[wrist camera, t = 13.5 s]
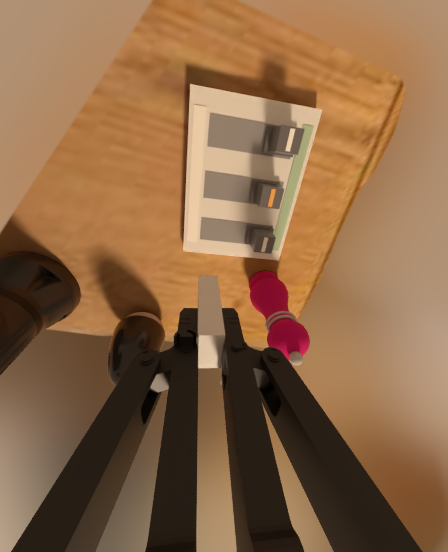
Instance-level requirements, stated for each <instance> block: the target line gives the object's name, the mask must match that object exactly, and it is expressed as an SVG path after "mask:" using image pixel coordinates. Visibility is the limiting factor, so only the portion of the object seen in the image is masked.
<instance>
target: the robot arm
mask: <svg viewBox="0 0 448 552" xmlns="http://www.w3.org/2000/svg"><path fill="white" fill-rule="evenodd" d="M80 297H81V294H80V288H79V286H78V283H77V282H76V280H75V278H74V277H73V276H72V275H71V273H70V272H69V271H68V270H67V269H65V268H64V267H63V266H62V265H60V264H59V263H57V262H56V261H54V260H52V259H50V258H48V257H45V256H43V255H40V254H36V253H31V252H13V253H9V254H7V255H4V256H2V257H0V375H1V374H2V373H3V371H4V370H5V369H6V368H7V367H8V366H9V365H10V364H11V363H12V362H13V360H15V358H16V357H17V356H18V355H19V354H20V353H21V352H22V351H23V350H24V349H25V348H26V347H27V345H28V344H29V343H30V342H31V341H32V340H33V339H34V338H35V337H36V336H37V335H38V334H39V333H40V332H41V331H43V330H44V329H46V328H48V327H50V326H52V325H53V324H55V323H57V322H58V321H61V320H63V319H64V318H66V317H67V316H69V315H70V314H71V313H72V312H73V311H74V309H75V308H76V307H77V306H78V304H79V302H80ZM221 364H222V376H221V384H222V388H223V399H224V410H225V421H226V433H227V444H228V455H229V465H230V477H231V489H232V500H233V511H234V522H235V533H236V545H237V552H304V550H303V546H302V544H301V541H300V539H299V537H298V535H297V533H296V532H295V530H294V529H293V527H292V524H291V521H290V517H289V513H288V509H287V505H286V501H285V497H284V493H283V489H282V484H281V481H280V477H279V472H278V468H277V464H276V460H275V456H274V452H273V448H272V443H271V439H270V435H269V431H268V427H267V423H266V418H265V414H264V410H263V406H262V403H263V405H264V407H265V409H266V412H267V414H268V416H269V418H270V420H271V422H272V424H273V426H274V428H275V430H276V432H277V434H278V437H279V439H280V441H281V443H282V445H283V447H284V449H285V451H286V453H287V455H288V457H289V459H290V462H291V463H292V466H293V468H294V470H295V472H296V474H297V476H298V478H299V480H300V482H301V484H302V487H303V489H304V491H305V493H306V495H307V497H308V499H309V501H310V503H311V505H312V507H313V509H314V512H315V514H316V515H317V518H318V520H319V522H320V524H321V526H322V528H323V530H324V532H325V534H326V536H327V538H328V540H329V543H330V545H331V547H332V549H333V551H334V552H422V551H421V549H420V548H419V546H418V545H417V544H416V542H415V541H414V539H413V538H412V536H411V535H410V533H409V532H408V531H407V530H406V528H405V526H404V525H403V523H402V522H401V521H400V519H399V518H398V516H397V515H396V514H395V512H394V511H393V509H392V508H391V506H390V505H389V503H388V502H387V501H386V499H385V498H384V496H383V495H382V494H381V492H380V491H379V489H378V488H377V487H376V485H375V484H374V482H373V481H372V479H371V478H370V476H369V475H368V474H367V472H366V471H365V469H364V468H363V466H362V465H361V464H360V462H359V461H358V459H357V458H356V457H355V455H354V454H353V452H352V451H351V449H350V448H349V447H348V445H347V444H346V442H345V441H344V440H343V438H342V437H341V435H340V434H339V433H338V431H337V429H336V428H335V427H334V425H333V424H332V422H331V421H330V420H329V418H328V417H327V415H326V414H325V412H324V411H323V409H322V408H321V407H320V405H319V404H318V402H317V401H316V400H315V398H314V396H313V395H312V394H311V392H310V391H309V390H308V388H307V386H306V385H305V384H304V382H303V381H302V380H301V378H300V376H299V375H298V374H297V372H296V371H295V369H294V368H293V367H292V365H291V364H290V362H289V361H288V359H287V358H286V357H285V355H284V354H283V353H282V352H281V351H280V350H278V349H277V348H273V347H268V348H265V349H264V350H263V351H259V350H255V349H253V348H251V347H249V346H248V345H247V343H246V342H244V339H243V335H242V330H241V326H240V322H239V317H238V313H237V312H236V311H235V309H234V308H222V307H221V299H220V292H219V285H218V277H217V276H208V275H199V286H198V308H184V309H183V310H182V311H181V312H180V318H179V325H178V331H177V332H176V333H175V335H174V346H173V347H172V348H170V349H169V350H166V351H163V352H160V353H158V352H157V351H156V350H153V349H146V350H142V351H141V352H139V353H138V354H137V355H136V356H135V357H134V359H133V360H132V362H131V363H130V365H129V366H128V368H127V370H126V371H125V373H124V374H123V376H122V377H121V379H120V381H119V382H118V384H117V385H116V387H115V389H114V390H113V392H112V393H111V395H110V396H109V398H108V400H107V401H106V403H105V404H104V406H103V408H102V409H101V411H100V412H99V414H98V415H97V417H96V419H95V420H94V422H93V423H92V425H91V427H90V428H89V430H88V431H87V433H86V435H85V436H84V438H83V439H82V441H81V442H80V444H79V445H78V447H77V449H76V450H75V452H74V453H73V455H72V456H71V458H70V460H69V461H68V463H67V465H66V466H65V468H64V469H63V471H62V472H61V474H60V475H59V477H58V479H57V480H56V482H55V483H54V485H53V487H52V488H51V490H50V491H49V493H48V495H47V496H46V498H45V499H44V501H43V502H42V504H41V505H40V507H39V509H38V510H37V512H36V513H35V515H34V517H33V518H32V520H31V522H30V523H29V525H28V526H27V528H26V529H25V531H24V532H23V534H22V536H21V537H20V539H19V540H18V542H17V543H16V545H15V547H14V548H13V550H12V551H11V552H95V551H96V549H97V546H98V544H99V541H100V539H101V537H102V534H103V532H104V529H105V527H106V525H107V522H108V520H109V517H110V515H111V513H112V510H113V508H114V505H115V503H116V500H117V498H118V496H119V493H120V491H121V489H122V486H123V484H124V481H125V479H126V477H127V474H128V472H129V469H130V467H131V465H132V462H133V460H134V457H135V455H136V453H137V450H138V448H139V446H140V443H141V441H142V438H143V436H144V434H145V431H146V429H147V426H148V424H149V422H150V419H151V417H152V414H153V412H154V410H155V407H156V405H157V402H158V400H159V398H160V395H161V393H162V391H163V390H166V389H169V390H168V397H167V405H166V412H165V419H164V426H163V434H162V441H161V448H160V456H159V463H158V470H157V478H156V485H155V492H154V500H153V508H152V514H151V522H150V529H149V536H148V542H147V547H146V551H145V552H196V506H197V505H196V504H197V420H198V418H197V417H198V414H197V413H198V368H221ZM261 401H262V402H261Z"/></svg>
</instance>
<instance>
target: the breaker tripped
mask: <svg viewBox="0 0 448 552" xmlns="http://www.w3.org/2000/svg"><path fill="white" fill-rule="evenodd" d="M283 193H284V188H281V184H275V183H268V182H262V181H255V180H253V182H252V188H251V193H250V199H249V202H250V203H256V204H257V205H258V206H259V207H265V208H273V209H279V208H280V204H281V200H282V196H283Z"/></svg>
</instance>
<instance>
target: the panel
mask: <svg viewBox="0 0 448 552" xmlns="http://www.w3.org/2000/svg"><path fill="white" fill-rule="evenodd" d="M321 113H322V110H321V109H316V108H311V107H306V106H301V105H296V104H291V103H286V102H280V101H275V100H270V99H265V98H260V97H255V96H250V95H244V94H239V93H234V92H229V91H224V90H219V89H214V88H209V87H203V86H198V85H193V84H190V101H189V125H188V149H187V173H186V197H185V221H184V245H183V251H187V252H198V253H208V254H218V255H228V256H238V257H249V258H259V259H269V260H279V258H280V254H281V251H282V247H283V244H284V240H285V237H286V234H287V230H288V227H289V223H290V220H291V216H292V213H293V210H294V206H295V203H296V199H297V196H298V192H299V189H300V185H301V182H302V179H303V175H304V172H305V168H306V165H307V161H308V158H309V154H310V151H311V148H312V144H313V141H314V137H315V134H316V130H317V127H318V123H319V120H320V117H321ZM279 125H287V126H292V127H298V128H303V129H305V130H304V134H303V138H302V141H301V145H300V149H299V153H298V155H293V157H286V156H280V155H274V154H268V153H262V151H263V146H264V141H265V136H266V130H267V126H275V127H277V126H279ZM253 180H255V181H262V182H268V183H275V184H281V188H284V193H283V196H282V200H281V204H280V208H279V209H273V208H265V207H259V206H258V205H257V204H256V203H250V202H249V199H250V193H251V188H252V182H253ZM248 225H252V226H260V227H269V228H273V229H274V231H273V234H274V236H275V237H276V239H275V242H274V246H273V250H272V254H269V253H259V252H253V250H252V248H251V246H250V245H248V244H245V239H246V234H247V229H248Z"/></svg>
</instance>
